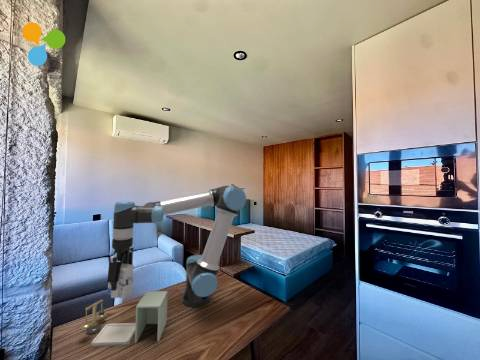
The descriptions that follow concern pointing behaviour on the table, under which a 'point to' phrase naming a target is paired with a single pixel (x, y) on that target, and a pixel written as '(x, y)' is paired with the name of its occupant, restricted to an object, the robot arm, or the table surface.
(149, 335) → the table surface
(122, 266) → the ink box
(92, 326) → the balance
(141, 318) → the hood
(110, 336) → the dish
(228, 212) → the robot arm
